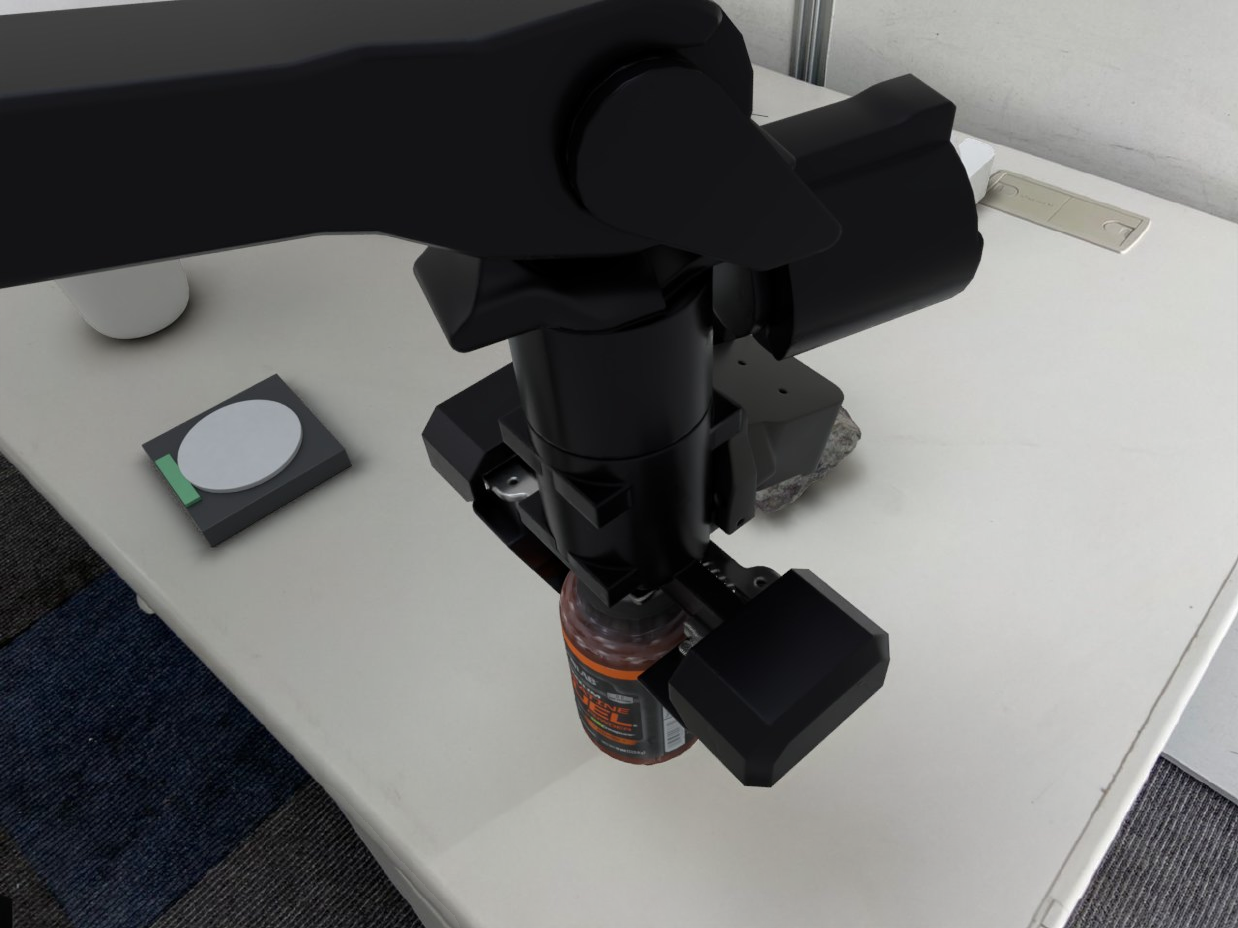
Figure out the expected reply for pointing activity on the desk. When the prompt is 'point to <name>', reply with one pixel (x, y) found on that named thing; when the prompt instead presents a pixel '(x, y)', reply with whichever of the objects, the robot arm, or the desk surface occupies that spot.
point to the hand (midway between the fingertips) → (643, 659)
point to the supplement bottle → (622, 671)
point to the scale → (246, 458)
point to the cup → (130, 298)
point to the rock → (834, 453)
